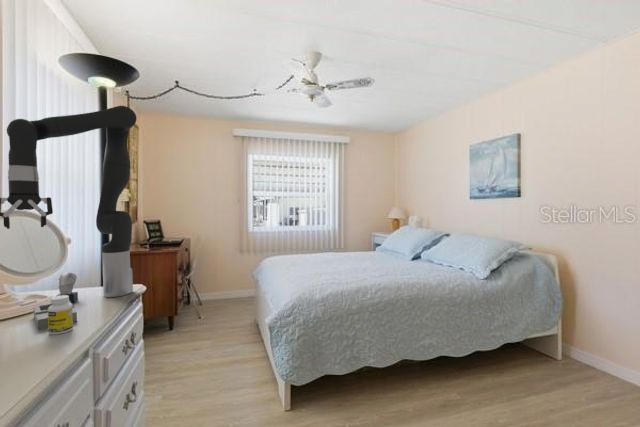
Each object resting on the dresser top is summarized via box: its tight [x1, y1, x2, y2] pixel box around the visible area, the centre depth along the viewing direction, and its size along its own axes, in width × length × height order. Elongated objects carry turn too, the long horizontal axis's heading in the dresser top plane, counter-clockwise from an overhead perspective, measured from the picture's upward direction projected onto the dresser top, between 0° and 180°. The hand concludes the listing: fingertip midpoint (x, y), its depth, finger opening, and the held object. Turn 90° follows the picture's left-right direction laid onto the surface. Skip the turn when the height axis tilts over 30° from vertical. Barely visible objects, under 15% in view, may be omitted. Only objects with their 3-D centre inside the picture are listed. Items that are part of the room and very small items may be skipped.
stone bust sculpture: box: [54, 271, 79, 305], centre depth 117 cm, size 6×8×11 cm
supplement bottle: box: [47, 295, 74, 335], centre depth 90 cm, size 5×5×10 cm
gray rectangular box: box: [33, 301, 78, 331], centre depth 102 cm, size 21×9×4 cm, turn 45°
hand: (25, 227), depth 108 cm, fingers open, 8 cm apart
